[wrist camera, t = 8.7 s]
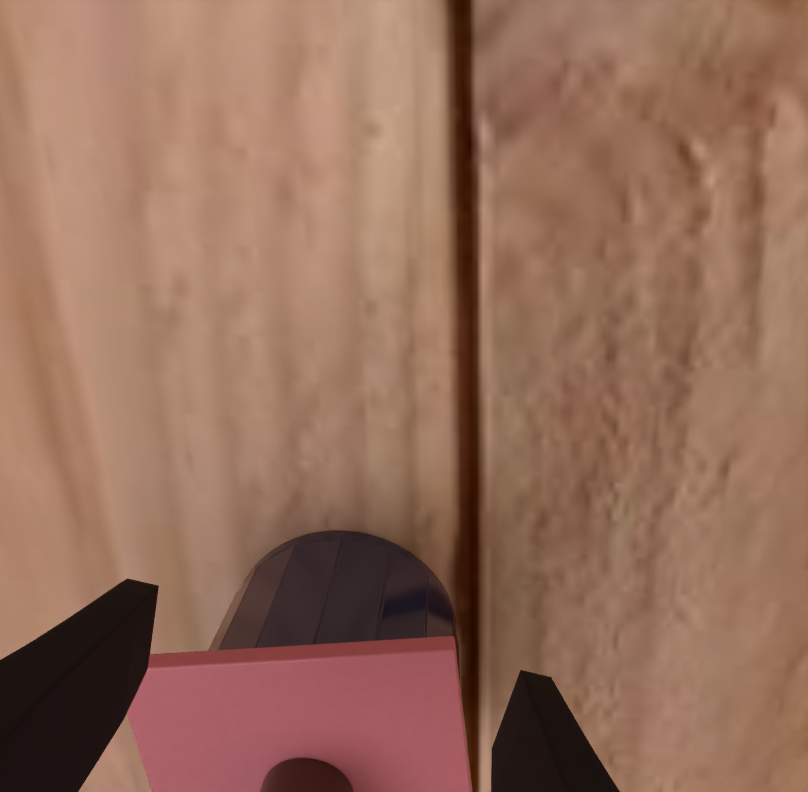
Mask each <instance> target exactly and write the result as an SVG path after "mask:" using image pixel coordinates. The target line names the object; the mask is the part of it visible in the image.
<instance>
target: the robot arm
mask: <svg viewBox="0 0 808 792" xmlns="http://www.w3.org/2000/svg"><path fill="white" fill-rule="evenodd" d="M158 587H159V586H157V585H153V584H148V583H144V582H140V581H135V580H131V579H126V580H125V581H123V582H121V583H120V584H118V585H117V586H115V587H114V588H112V589H111V590H109V591H108V592H106V593H105V594H103V595H102V596H101V597H99V598H98V599H96V600H95V601H93V602H92V603H90V604H89V605H87V606H86V607H84V608H83V609H81V610H80V611H78V612H77V613H75V614H74V615H72V616H71V617H70V618H68V619H66V620H65V621H63V622H62V623H60V624H59V625H57V626H56V627H54V628H52V629H51V630H49V631H48V632H46V633H45V634H43V635H41V636H40V637H38V638H37V639H35V640H34V641H32V642H30V643H29V644H27V645H25V646H24V647H22V648H20V649H19V650H17V651H15V652H13V653H12V654H10V655H8V656H7V657H5V658H3V659H1V660H0V792H78V791H79V790H80V788H81V786H82V785H83V783H84V782H85V780H86V779H87V777H88V775H89V774H90V772H91V771H92V769H93V768H94V766H95V764H96V763H97V761H98V760H99V758H100V756H101V755H102V753H103V752H104V750H105V748H106V747H107V745H108V744H109V742H110V740H111V739H112V737H113V736H114V734H115V732H116V731H117V729H118V728H119V726H120V724H121V723H122V721H123V719H124V717H125V715H126V713H127V711H128V709H129V707H130V705H131V703H132V701H133V699H134V697H135V695H136V693H137V691H138V689H139V687H140V685H141V683H142V680H143V678H144V676H145V674H146V672H147V670H148V664H149V656H150V648H151V641H152V633H153V625H154V617H155V610H156V602H157V594H158ZM491 792H620V791H619V790H618V788H617V787H616V785H615V784H614V782H613V780H612V779H611V777H610V776H609V774H608V773H607V771H606V769H605V768H604V766H603V765H602V763H601V761H600V760H599V758H598V757H597V755H596V753H595V752H594V750H593V748H592V747H591V745H590V744H589V742H588V740H587V738H586V737H585V735H584V733H583V732H582V730H581V728H580V727H579V725H578V723H577V721H576V720H575V718H574V716H573V714H572V713H571V711H570V709H569V708H568V706H567V704H566V702H565V701H564V699H563V697H562V695H561V694H560V692H559V690H558V688H557V687H556V685H555V683H554V682H553V680H552V678H551V677H548V676H543V675H539V674H535V673H531V672H526V671H522V670H520V673H519V676H518V679H517V681H516V684H515V687H514V689H513V692H512V695H511V698H510V700H509V703H508V706H507V709H506V711H505V714H504V717H503V720H502V722H501V725H500V728H499V730H498V733H497V736H496V739H495V741H494V744H493V747H492V773H491Z"/></svg>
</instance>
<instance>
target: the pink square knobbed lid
mask: <svg viewBox="0 0 808 792" xmlns="http://www.w3.org/2000/svg"><path fill="white" fill-rule="evenodd" d="M127 714H128V717H129V720H130V724H131V727H132V730H133V733H134V736H135V740H136V743H137V746H138V749H139V752H140V755H141V759H142V762H143V765H144V768H145V771H146V775H147V778H148V781H149V784H150V787H151V790H152V792H472V784H471V776H470V767H469V758H468V750H467V741H466V732H465V723H464V715H463V706H462V697H461V689H460V680H459V671H458V663H457V654H456V645H455V638H454V637H453V636H443V637H427V638H411V639H394V640H378V641H362V642H345V643H329V644H313V645H296V646H280V647H264V648H247V649H231V650H215V651H198V652H182V653H166V654H150V656H149V664H148V670H147V672H146V674H145V676H144V678H143V680H142V683H141V685H140V687H139V689H138V691H137V693H136V695H135V697H134V699H133V701H132V703H131V705H130V707H129V709H128V711H127Z"/></svg>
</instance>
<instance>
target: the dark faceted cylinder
mask: <svg viewBox="0 0 808 792" xmlns="http://www.w3.org/2000/svg"><path fill="white" fill-rule="evenodd" d="M443 636H453V637H454V638H455V645H456V654H457V663H458V671H459V646H458V640H457V629H456V618H455V614H454V610H453V606H452V604H451V601H450V599H449V596H448V594H447V592H446V591H445V589H444V587H443V585H442V584H441V582H440V581H439V580H438V578H437V577H436V576H435V575H434V573H433V572H432V571H431V570H430V569H429V568H428V567H427V566H426V565H425V564H424V563H423V562H422V561H420V560H419V559H418V558H416V557H415V556H414V555H412V554H411V553H410V552H408V551H406V550H405V549H403V548H401V547H399V546H398V545H395V544H393V543H391V542H388V541H386V540H384V539H381V538H377V537H374V536H371V535H367V534H361V533H355V532H342V531H333V532H321V533H315V534H309V535H306V536H302V537H299V538H296V539H293V540H291V541H289V542H287V543H285V544H282V545H280V546H279V547H277V548H276V549H274V550H272V551H271V552H269V553H268V554H267V555H266V556H265V557H263V558H262V559H261V560H260V561H259V562H258V563H257V564H256V565H255V566H254V568H253V569H252V570H251V571H250V573H249V574H248V576H247V577H246V579H245V581H244V582H243V584H242V586H241V588H240V589H239V591H238V592H237V593H236V595H235V596H234V599H233V601H232V603H231V605H230V607H229V609H228V611H227V613H226V615H225V617H224V619H223V621H222V623H221V625H220V627H219V629H218V631H217V633H216V635H215V637H214V639H213V641H212V644H211V646H210V648H209V650H208V651H215V650H231V649H247V648H264V647H280V646H296V645H313V644H329V643H345V642H362V641H378V640H394V639H411V638H427V637H443ZM459 680H460V675H459Z"/></svg>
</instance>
